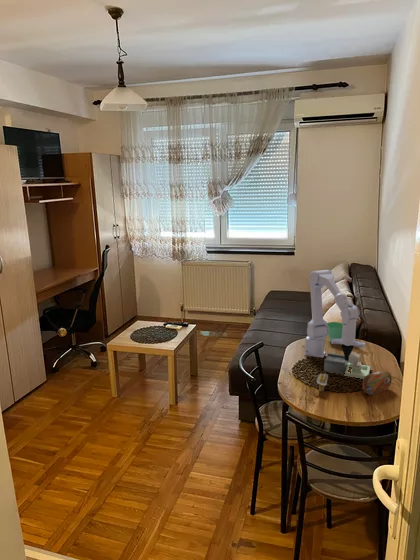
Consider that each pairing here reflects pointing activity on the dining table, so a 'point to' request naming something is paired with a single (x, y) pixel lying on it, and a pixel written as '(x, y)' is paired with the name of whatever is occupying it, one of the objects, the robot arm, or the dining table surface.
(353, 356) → the chip
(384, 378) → the tin
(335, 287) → the robot arm
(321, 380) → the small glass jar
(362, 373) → the tray
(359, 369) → the chip
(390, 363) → the dining table surface
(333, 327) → the mug
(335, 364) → the slot block
